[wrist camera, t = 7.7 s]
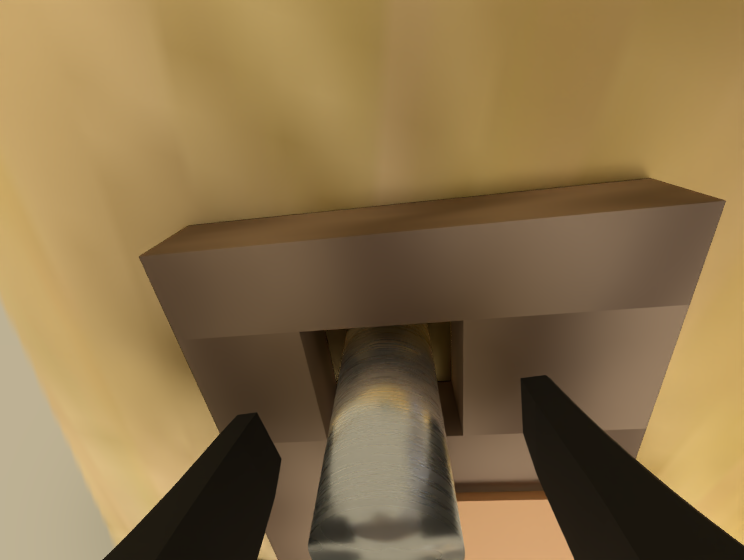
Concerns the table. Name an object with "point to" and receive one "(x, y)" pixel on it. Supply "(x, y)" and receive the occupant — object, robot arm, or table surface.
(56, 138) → the table surface
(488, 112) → the table surface
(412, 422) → the steel pin
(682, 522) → the robot arm
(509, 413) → the brown board with hole
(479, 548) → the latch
